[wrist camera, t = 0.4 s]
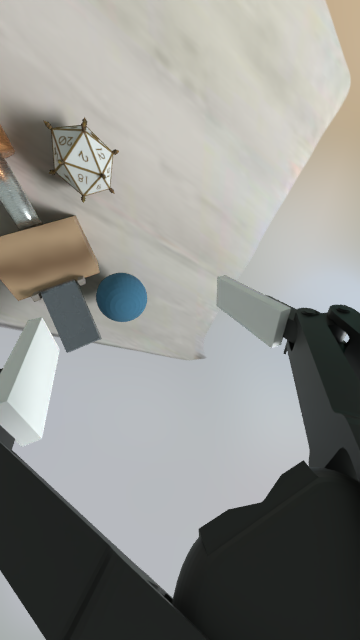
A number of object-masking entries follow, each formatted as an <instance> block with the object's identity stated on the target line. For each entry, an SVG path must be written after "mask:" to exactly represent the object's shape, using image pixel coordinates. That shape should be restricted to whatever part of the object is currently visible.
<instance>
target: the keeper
mask: <svg viewBox="0 0 360 640" xmlns="http://www.w3.org/2000/svg"><path fill="white" fill-rule="evenodd" d="M40 293H41V295H42V297H43V300H44V302H45V304H46V306H47V309H48V311H49V313H50V315H51V318H52V320H53V322H54V325H55V327H56V329H57V331H58V334H59V336H60V338H61V341H62V343H63V345H64V347H65V349H66V352H71V351H73V350H76V349H78V348H80V347H83V346H85V345H88V344H90V343H92V342H95V341H97V340H100V339H102V338H101V336H100V333H99V331H98V329H97V326H96V324H95V322H94V320H93V317H92V315H91V313H90V310H89V308H88V306H87V304H86V301H85V299H84V297H83V294H82V292H81V290H80V288H79V285H78V283H77V281H76V280H75V279H72V280H69V281H66V282H63V283H60V284H57V285H54V286H51V287H48V288H46V289H43V290H40Z"/></svg>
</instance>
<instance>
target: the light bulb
mask: <svg viewBox="0 0 360 640" xmlns="http://www.w3.org/2000/svg"><path fill="white" fill-rule="evenodd" d="M96 301H97V304H98V307H99V309H100V310H101V312H102V313H103V314H104V315H105V316H107V317H108V318H109V319H111V320H114V321H118V322H127V321H131V320H133V319H135V318H137V317H138V316H139V315H140V314H141V313H142V312H143V311H144V309H145V307H146V303H147V293H146V290H145V287H144V286H143V284H142V283H141V282H140V281H139V280H138V279H137V278H136V277H134V276H132V275H130V274H126V273H115V274H112V275H109V276H108V277H106V278H105V279H104V280H103V281H102V282H101V283H100V284H99V286H98V289H97V293H96Z"/></svg>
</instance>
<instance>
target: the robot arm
mask: <svg viewBox="0 0 360 640" xmlns="http://www.w3.org/2000/svg"><path fill="white" fill-rule="evenodd" d="M217 306H218V307H219V308H220V309H221V310H223V311H224V312H225V313H227V314H228V315H229V316H231V317H232V318H233V319H234V320H236V321H237V322H238V323H240V324H241V325H242V326H244V327H245V328H246V329H248V330H249V331H250V332H251V333H253V334H254V335H255V336H257V337H258V338H259V339H261V340H262V341H263V342H264V343H266V344H267V345H268V346H269V347H271V348H274V347H276V346H279V345H281V342H282V339H283V337H284V338H285V339H287V343H286V346H285V350H284V354H286V352H287V351H288V355H289V359H290V363H291V368H292V373H293V377H294V381H295V386H296V390H297V394H298V399H299V403H300V408H301V412H302V417H303V421H304V425H305V430H306V435H307V439H308V443H309V449H310V455H309V466H308V465H307V464H306V463H305V462H304V461H302V462H300V463H299V464H297V465H296V466H294V467H293V468H291V469H290V470H288V471H287V472H285V473H284V474H282V475H281V476H280V478H279V479H278V481H277V482H276V483H275V485H274V486H273V488H272V489H271V491H270V492H269V494H268V495H267V497H266V498H265V500H264V501H263V502H261V503H257V504H252V505H248V506H243V507H238V508H234V509H229V510H227V511H225V512H224V513H222V514H221V515H220V516H218V517H216V518H215V519H213V520H212V521H210V522H209V523H207V524H206V525H204V526H203V527H201V528H200V529H199V538H198V539H197V540H196V542H195V543H194V544H193V546H192V548H191V549H190V551H189V553H188V555H187V557H186V559H185V561H184V563H183V566H182V568H181V571H180V574H179V577H178V580H177V585H176V588H175V593H174V597H173V598H172V597H171V596H170V595H168V593H166V592H165V591H164V590H163V589H162V588H161V587H160V586H159V585H158V584H157V583H155V582H154V581H153V580H152V579H151V578H150V577H149V576H148V575H147V574H146V573H145V572H144V571H142V570H141V569H140V568H139V567H138V566H137V565H135V564H134V563H133V562H132V561H131V560H130V559H129V558H128V557H127V556H126V555H125V554H123V553H122V552H121V551H120V550H119V549H118V548H117V547H116V546H115V545H114V544H113V543H111V541H110V540H108V539H107V538H106V537H105V536H104V535H103V534H102V533H101V532H100V531H99V530H98V529H96V528H95V527H94V526H93V525H92V524H91V523H90V522H89V521H88V520H87V519H86V518H85V517H83V515H81V514H80V513H79V512H78V511H77V510H76V509H75V508H74V507H73V506H72V505H71V504H70V503H68V502H67V501H66V500H65V499H64V498H63V497H62V496H61V495H60V494H59V493H58V492H57V491H55V490H54V489H53V488H52V487H51V486H50V485H49V484H48V483H47V482H46V481H45V480H44V479H43V478H42V477H40V476H39V475H38V474H37V473H36V472H35V471H34V470H33V469H32V468H31V467H30V466H28V465H27V464H26V463H25V462H24V461H23V460H22V459H21V458H20V457H19V456H18V455H17V454H16V453H14V452H13V451H12V447H13V444H14V441H16V442H17V443H18V444H20V445H21V446H25V445H28V444H30V443H32V442H35V441H38V440H40V439H42V436H43V431H44V426H45V421H46V416H47V411H48V406H49V401H50V396H51V390H52V386H53V381H54V376H55V371H56V366H57V361H58V356H59V351H60V349H59V347H58V346H57V344H56V342H55V340H54V338H53V336H52V335H51V333H50V331H49V329H48V327H47V325H46V324H45V322H44V320H43V318H42V317H41V318H37V319H32V320H28V322H27V324H26V326H25V328H24V330H23V332H22V333H21V336H20V337H19V339H18V341H17V343H16V345H15V347H14V349H13V351H12V353H11V354H10V356H9V358H8V360H7V362H6V364H5V366H4V368H2V369H0V570H1V572H2V573H3V575H4V576H5V578H6V579H7V581H8V582H9V584H10V586H11V587H12V589H13V590H14V592H15V593H16V595H17V596H18V598H19V599H20V601H21V602H22V604H23V605H24V607H25V608H26V610H27V611H28V613H29V614H30V616H31V617H32V619H33V620H34V622H35V623H36V625H37V626H38V628H39V630H40V631H41V633H42V634H43V636H44V637H45V639H46V640H360V313H359V312H357V311H356V310H355V309H352V308H350V307H348V306H346V305H344V306H343V305H332V306H330V308H329V310H328V313H320V312H318V311H316V310H313V309H310V308H299V309H295V308H293V307H291V306H288V305H287V304H285V303H283V302H280V301H279V300H276V299H274V298H272V297H270V296H267V295H264V294H262V293H260V292H258V291H256V290H254V289H252V288H250V287H248V286H246V285H244V284H242V283H240V282H238V281H236V280H234V279H232V278H230V277H228V276H226V275H224V276H220V277H218V280H217ZM346 334H348V336H349V338H350V339H349V341H348V342H347V343H346V342H345V341H344V338H345V336H346Z"/></svg>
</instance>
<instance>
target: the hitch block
mask: <svg viewBox="0 0 360 640" xmlns="http://www.w3.org/2000/svg"><path fill="white" fill-rule="evenodd" d="M97 273H100V272H99V265H98V261H97V259H96V257H95V255H94V253H93V251H92V249H91V247H90V245H89V243H88V240H87V238H86V236H85V234H84V232H83V230H82V228H81V226H80V224H79V222H78V220H77V218H76V215H75V216H72V217H68V218H64V219H61V220H57V221H54V222H50V223H46V224H43V225H40V226H36V227H33V228H29V229H26V230H22V231H17V232H14V233H10V234H7V235H3V236H0V280H1V281H2V282H3V283H4V284H5V286H6V287H7V288H8V289H9V290H10V292H11V293H12V294H13V295H14V296H15V298H16V299H17V300H18V301H19V300H22V299H25V298H28V297H31V298H32V299H33V301H34V302H36V301H39V300H41V298H42V295H41V293H40V290H43V289H46V288H48V287H51V286H54V285H57V284H60V283H63V282H66V281H69V280H72V279H75V280H76V281H78V283H79V285H80V286H81V285H84V284H86V280H85V278H86V277H89V276H92V275H95V274H97Z"/></svg>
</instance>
